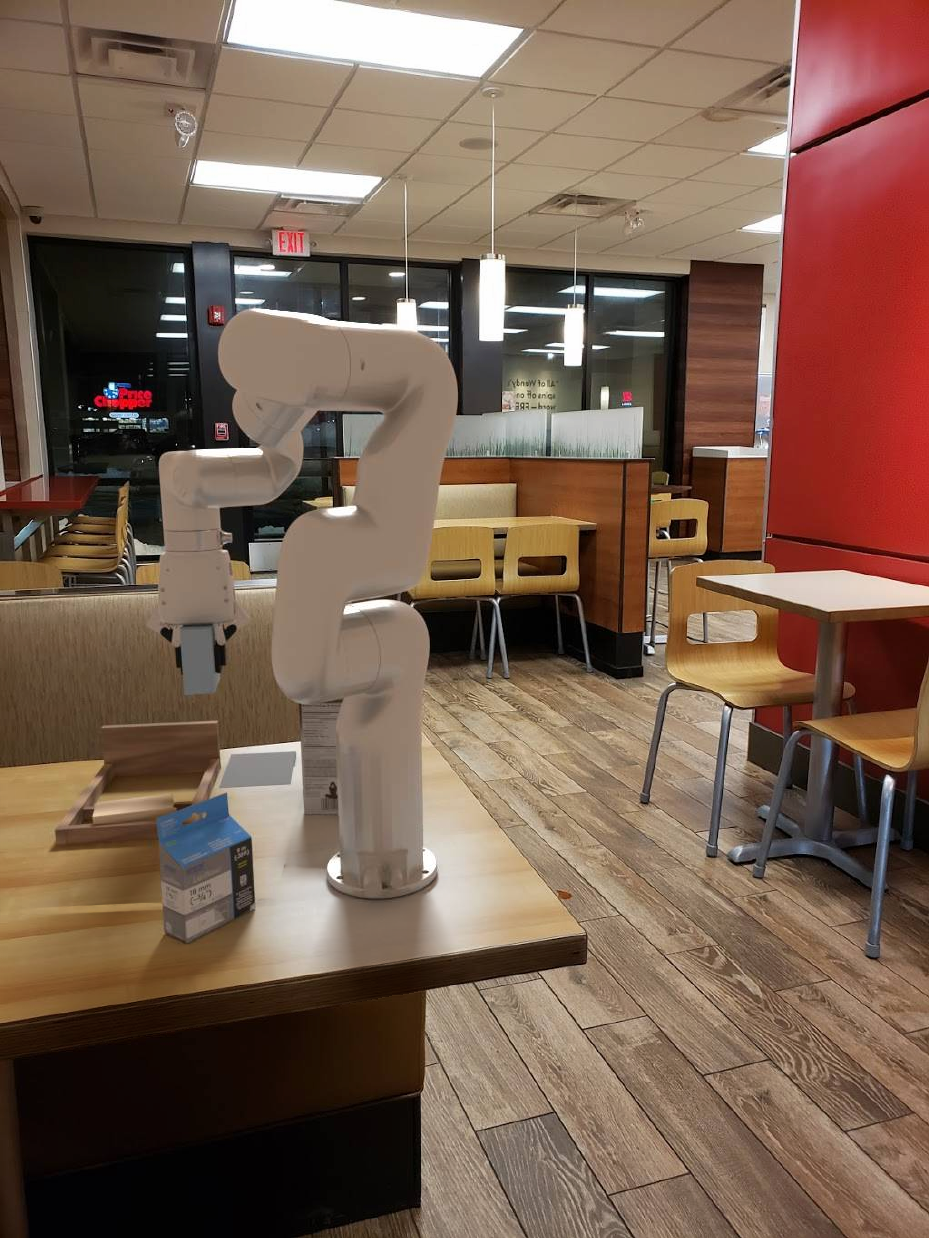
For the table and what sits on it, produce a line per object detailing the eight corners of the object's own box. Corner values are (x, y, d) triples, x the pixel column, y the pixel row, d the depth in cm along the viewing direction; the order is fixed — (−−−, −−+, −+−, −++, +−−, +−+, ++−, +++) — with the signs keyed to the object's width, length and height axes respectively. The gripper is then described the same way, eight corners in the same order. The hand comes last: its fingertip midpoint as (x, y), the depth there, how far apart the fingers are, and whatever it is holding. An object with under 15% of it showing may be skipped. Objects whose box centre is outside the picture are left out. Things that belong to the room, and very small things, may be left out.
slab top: (173, 818, 115) (172, 807, 114) (93, 828, 112) (92, 816, 112) (173, 804, 119) (173, 793, 119) (97, 813, 117) (96, 802, 116)
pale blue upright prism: (214, 693, 125) (210, 629, 123) (184, 694, 124) (179, 630, 123) (220, 678, 133) (216, 618, 131) (191, 680, 132) (187, 619, 130)
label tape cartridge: (186, 946, 90) (178, 828, 87) (162, 933, 92) (153, 819, 89) (257, 909, 96) (251, 799, 94) (233, 898, 99) (226, 791, 96)
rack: (194, 840, 113) (190, 779, 111) (56, 848, 111) (50, 787, 109) (221, 771, 136) (217, 720, 135) (107, 777, 134) (103, 725, 133)
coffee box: (315, 789, 129) (310, 680, 126) (360, 789, 129) (356, 680, 126) (302, 815, 120) (297, 698, 117) (350, 815, 120) (347, 698, 117)
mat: (290, 787, 130) (290, 783, 130) (219, 791, 129) (219, 787, 129) (296, 754, 144) (296, 751, 143) (231, 757, 142) (231, 754, 142)
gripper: (257, 537, 130) (264, 662, 133) (134, 541, 127) (145, 668, 130) (253, 543, 122) (261, 675, 126) (124, 547, 120) (135, 681, 123)
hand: (202, 670), depth 128 cm, fingers closed on pale blue upright prism, 4 cm apart
